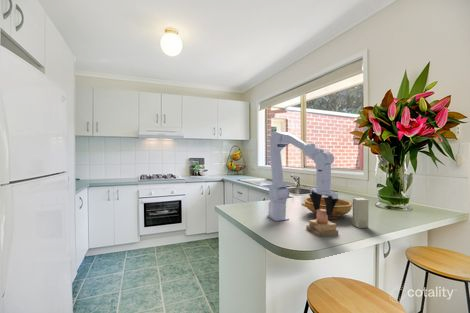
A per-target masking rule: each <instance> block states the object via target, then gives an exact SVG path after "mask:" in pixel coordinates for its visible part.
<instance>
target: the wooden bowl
mask: <svg viewBox="0 0 470 313" xmlns="http://www.w3.org/2000/svg"><path fill="white" fill-rule="evenodd" d="M326 197H327V196H322V197H321V200H320V208H319V209H325V210H326V204H325V200H324V198H326ZM303 201H304V203H303V202H302V203H301V206H302V207H305V208H307V210H309V211H310V212H312V213H314V214H315V215H316V216H317V210H314V206H313V202H312V200H311V197H310V196H308V197H304V199H303ZM352 208H353V201H350V200H347V199H343V198H339V197H338V201H337V203H336V204H335V206H334V209H333V212H332V215H328V220H329V219H330V220H331V219H334V220H335V219H338V218H339V217H340V216H344V215H347V214H348V213H349V212H350V211H351V209H352Z"/></svg>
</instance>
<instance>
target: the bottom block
mask: <svg viewBox="0 0 470 313" xmlns="http://www.w3.org/2000/svg"><path fill="white" fill-rule="evenodd" d="M305 226H306V229H305V230H307V231H308V232H310V233H311V234H313V235H315V236H317V237H319V238H323V237H332V236H333V237H334V236H338V235H339V229H337V228H336V230H332V231H324V232H320V231H318V230H316V229H314V228H312V227H310V226H309V224H307V225H305Z"/></svg>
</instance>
